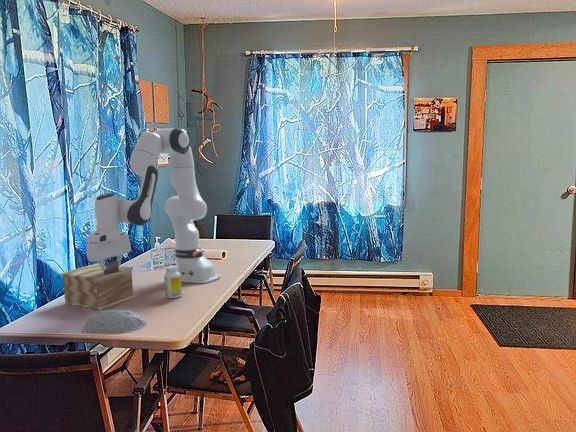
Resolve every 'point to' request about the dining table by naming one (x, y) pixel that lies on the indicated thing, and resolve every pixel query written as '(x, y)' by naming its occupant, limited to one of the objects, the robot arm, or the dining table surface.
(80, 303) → the wooden box
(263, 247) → the dining table surface
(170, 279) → the supplement bottle
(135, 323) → the grey oval stone
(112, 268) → the lid
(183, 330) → the dining table surface
